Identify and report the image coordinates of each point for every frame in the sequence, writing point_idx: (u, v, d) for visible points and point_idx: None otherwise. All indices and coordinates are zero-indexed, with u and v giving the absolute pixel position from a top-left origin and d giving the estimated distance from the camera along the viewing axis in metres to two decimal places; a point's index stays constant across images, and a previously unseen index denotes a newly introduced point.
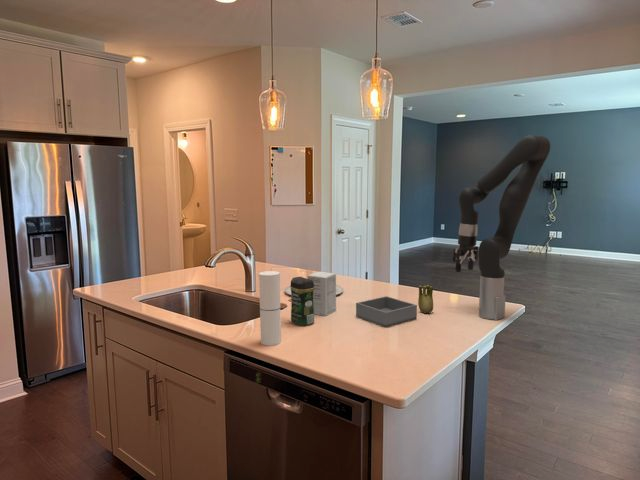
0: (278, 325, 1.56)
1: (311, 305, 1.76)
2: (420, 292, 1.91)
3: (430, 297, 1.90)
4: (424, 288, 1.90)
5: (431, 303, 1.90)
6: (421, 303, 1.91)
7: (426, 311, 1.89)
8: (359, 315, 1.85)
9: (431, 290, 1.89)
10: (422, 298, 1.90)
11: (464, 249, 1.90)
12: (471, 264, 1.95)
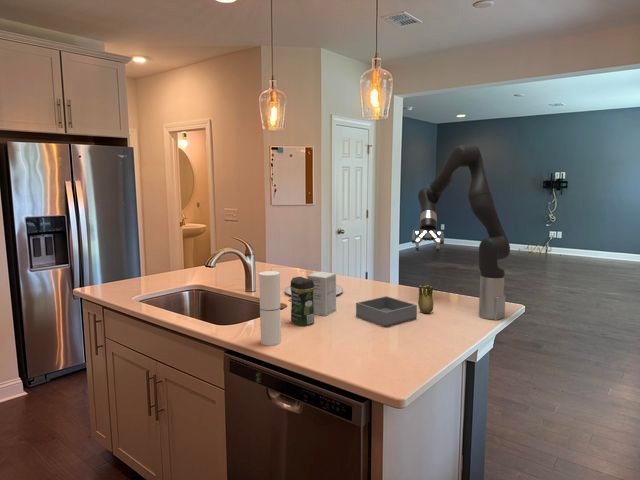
0: (278, 325, 1.56)
1: (311, 305, 1.76)
2: (420, 292, 1.91)
3: (430, 297, 1.90)
4: (424, 288, 1.90)
5: (431, 303, 1.90)
6: (421, 303, 1.91)
7: (426, 311, 1.89)
8: (359, 315, 1.85)
9: (431, 290, 1.89)
10: (422, 298, 1.90)
11: (421, 231, 2.05)
12: None
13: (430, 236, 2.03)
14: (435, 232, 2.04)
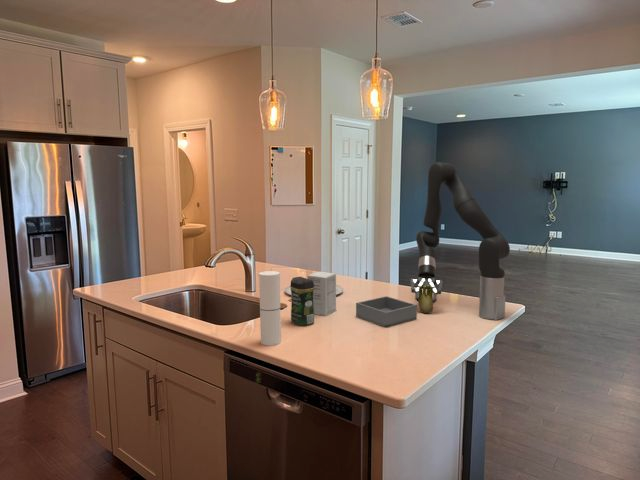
0: (278, 325, 1.56)
1: (311, 305, 1.76)
2: (420, 292, 1.91)
3: (430, 297, 1.90)
4: (424, 288, 1.90)
5: (431, 303, 1.90)
6: (421, 303, 1.91)
7: (426, 311, 1.89)
8: (359, 315, 1.85)
9: (431, 290, 1.89)
10: (422, 298, 1.90)
11: (419, 278, 1.96)
12: (433, 295, 1.90)
13: (428, 284, 1.93)
14: (434, 281, 1.94)
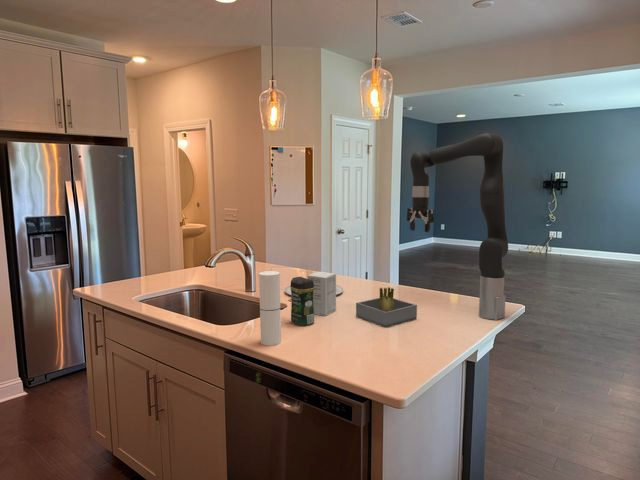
0: (278, 325, 1.56)
1: (311, 305, 1.76)
2: (381, 294, 1.84)
3: (391, 299, 1.83)
4: (385, 290, 1.83)
5: (392, 305, 1.83)
6: (382, 305, 1.84)
7: None
8: (359, 315, 1.85)
9: (392, 292, 1.82)
10: (383, 300, 1.83)
11: (413, 209, 2.07)
12: None
13: (420, 216, 2.04)
14: (424, 211, 2.02)
